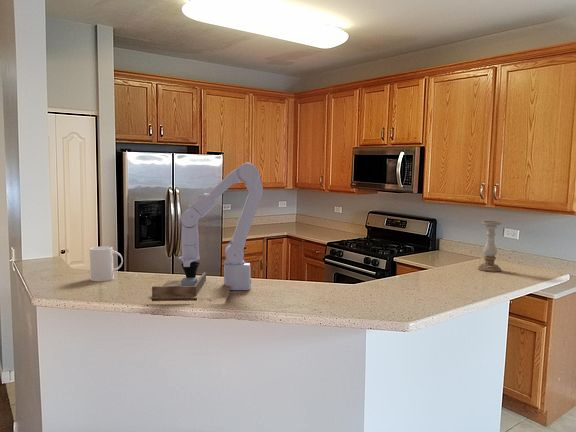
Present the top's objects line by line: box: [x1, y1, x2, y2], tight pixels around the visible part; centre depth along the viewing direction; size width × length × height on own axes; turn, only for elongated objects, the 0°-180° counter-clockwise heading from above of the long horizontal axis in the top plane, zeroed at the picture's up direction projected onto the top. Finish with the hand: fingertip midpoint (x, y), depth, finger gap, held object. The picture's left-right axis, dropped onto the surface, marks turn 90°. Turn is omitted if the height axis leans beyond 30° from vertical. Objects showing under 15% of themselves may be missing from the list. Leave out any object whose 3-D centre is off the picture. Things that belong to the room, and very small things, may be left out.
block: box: [180, 277, 198, 286], centre depth 153 cm, size 4×4×3 cm
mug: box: [89, 245, 124, 282], centre depth 172 cm, size 12×8×12 cm
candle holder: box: [477, 220, 502, 273], centre depth 188 cm, size 9×9×20 cm
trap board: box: [151, 271, 207, 302], centre depth 153 cm, size 14×21×4 cm, turn 2°
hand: (191, 283), depth 156 cm, fingers closed
